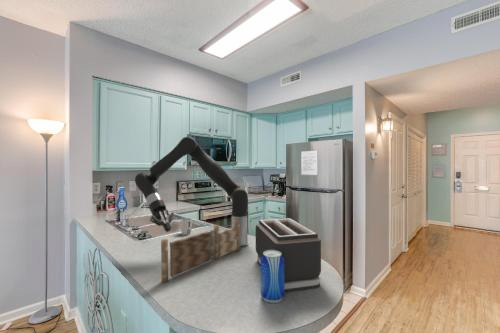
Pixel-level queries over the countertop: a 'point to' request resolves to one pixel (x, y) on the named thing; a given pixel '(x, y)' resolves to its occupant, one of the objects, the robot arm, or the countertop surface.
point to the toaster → (292, 251)
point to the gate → (191, 252)
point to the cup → (186, 225)
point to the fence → (222, 245)
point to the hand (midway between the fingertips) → (169, 230)
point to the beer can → (272, 276)
